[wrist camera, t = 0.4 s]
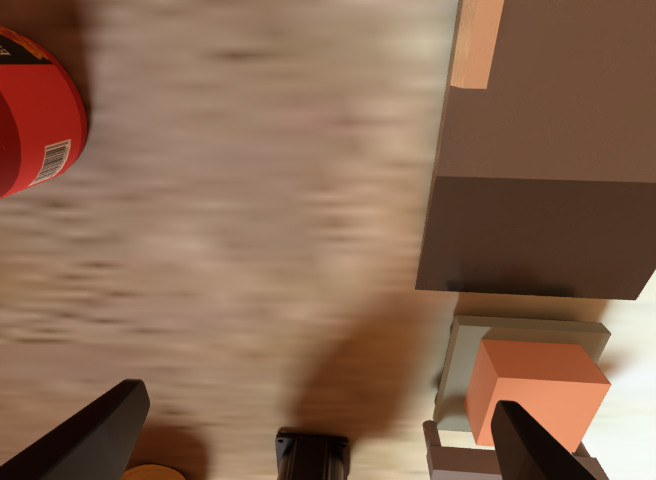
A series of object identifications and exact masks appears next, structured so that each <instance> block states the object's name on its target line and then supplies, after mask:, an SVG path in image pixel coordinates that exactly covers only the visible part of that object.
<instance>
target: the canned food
mask: <svg viewBox="0 0 656 480" xmlns="http://www.w3.org/2000/svg"><path fill="white" fill-rule="evenodd" d="M86 139H87V120H86V112H85V109H84V106H83V102H82V99H81V97H80V94H79V92H78V90H77V88H76V86H75V84H74V82H73V81H72V79H71V78H70V76H69V75H68V73H67V72H66V70H65V69H64V68H63V67H62V66H61V64H60V63H59V62H58V61H57V60H56V59H55V58H54V57H53V56H52V55H51V54H50V53H49V52H48V51H46V50H45V49H44V48H43V47H42V46H40V45H39V44H37V43H35V42H34V41H32V40H31V39H29V38H27V37H25V36H23V35H21V34H19V33H16V32H14V31H12V30H9V29H7V28H4V27H2V26H0V199H1V198H3V197H6V196H8V195H11V194H13V193H16V192H18V191H21V190H24V189H26V188H29V187H31V186H34V185H36V184H39V183H41V182H44V181H46V180H49V179H52V178H54V177H56V176H58V175H60V174H62V173H64V172H65V171H66V170H67V169H68V168H69V167H70V166H71V165H72V164H73V163H74V162H75V161H76V160H77V159H78V158H79V156H80V154H81V153H82V151H83V149H84V146H85V142H86Z"/></svg>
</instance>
